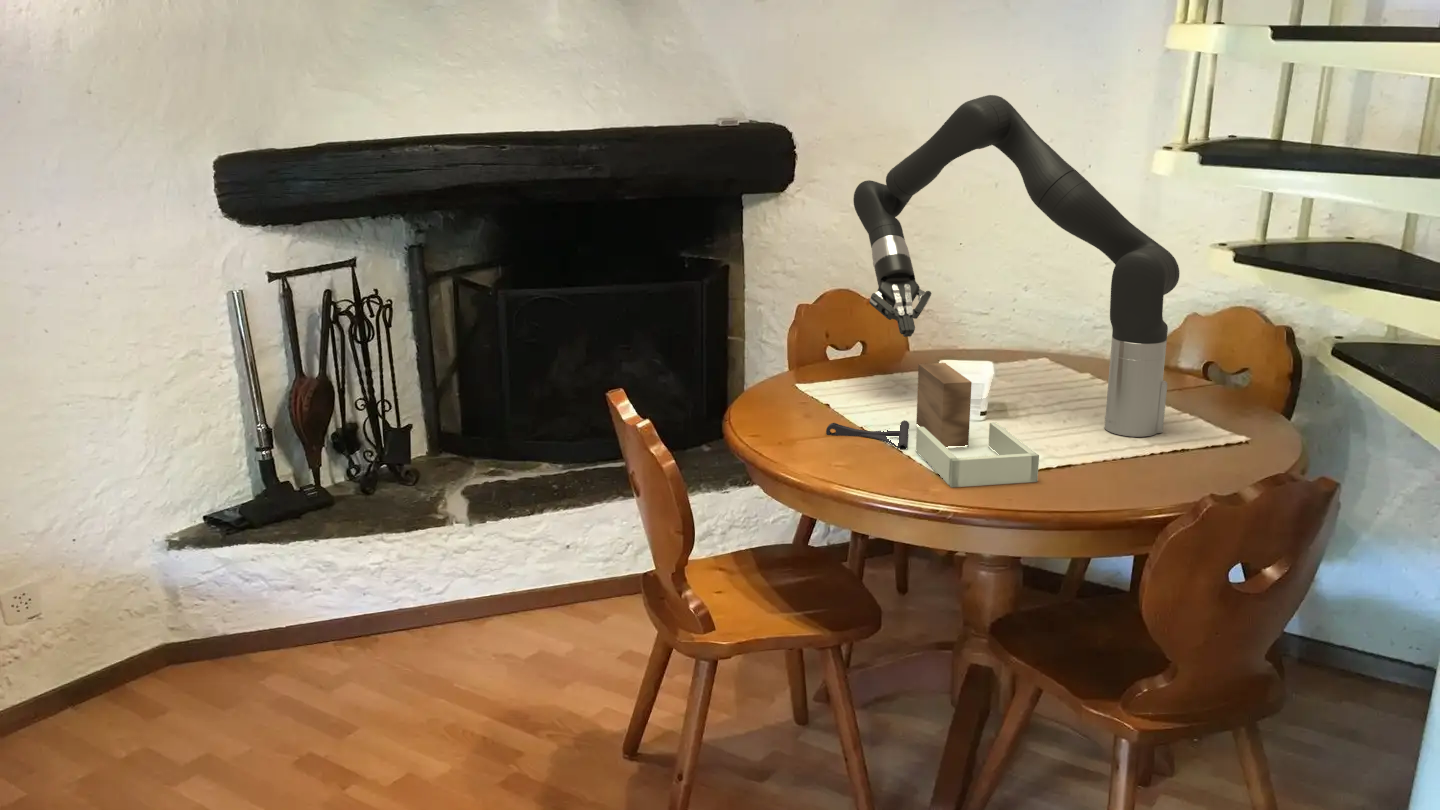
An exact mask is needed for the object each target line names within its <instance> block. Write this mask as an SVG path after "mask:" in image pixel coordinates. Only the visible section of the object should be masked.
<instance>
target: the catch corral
mask: <svg viewBox="0 0 1440 810" xmlns="http://www.w3.org/2000/svg"><path fill="white" fill-rule="evenodd" d="M988 432H989V433H988V445H989V446H990V447H991V448H992V449H993V450H995V451H996V452H997V453H998V454H999V455H997V454H996V455H994V454H993V455H981V456H967V457H957V456H956V455H955V454H954V453H953V452H951V451H950V449H947V448H946V447H945V446H944V445H943V444H942V443H941V442H940V441H938V440H937V439H936V438H935V437H934V436H933V435H932V434H931V433H930V432H929V431H928V430H927V429H926V428H925V427H917V426H916V436H915V438H916V441H915V451H916V450H917V452H918V453H919V454H920V455H921V456H922V457H923V458H924V459H925V460H926V461H927V462H928V463H929V464H930V465H931V466H932V467H933V468H934V469H933V468H932V467H931V466H930V465H929V464H928V463H927V462H926V461H925V460H924V459H923V458H922V457H921V456H920V455H919V454H918V453H917V452H916V453H917V454H918V455H919V456H920V457H921V458H922V459H923V460H924V461H925V462H926V463H927V464H928V465H929V466H930V467H931V468H932V469H933V471H934V472H935V473H936V474H937V473H938V474H939V475H940V476H939V475H938V474H937V475H938V476H939V477H940V478H941V479H942V478H943V479H942V480H943V481H944V482H945V483H946V484H947V485H948V486H949V487H950V488H961V487H962V488H963V487H978V486H979V487H980V486H992V485H993V486H994V485H1009V484H1025V483H1037V482H1038V478H1039V466H1040V464H1039V463H1040V455H1039V454H1038V452H1036V451H1035V450H1033V449H1032V448H1031V447H1029V446H1028V445H1027V444H1025V443H1024V442H1023V441H1021V440H1020V439H1019V438H1017V437H1016V436H1015V435H1013V433H1011V432H1010V431H1008V429H1006V428H1004V426H1001V425H1000V424H999V423H998V422H996V421H995V422H989V429H988Z"/></svg>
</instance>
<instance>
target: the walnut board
mask: <svg viewBox="0 0 1440 810" xmlns="http://www.w3.org/2000/svg"><path fill="white" fill-rule="evenodd" d="M972 383H973V382H972V381H971V380H970V379H968V378H967V377H965V376H964V375H963V374H961V373H960V372H958V371H957V370H955V369H954V368H952V367H951V366H950V365H949V364H947V363H946V362H934V363H918V373H917V394H916V397H917V401H916V424H918V425H919V426H920V427H925V428H926V429H927V430H928V431H929V432H930V433H931V434H932V435H933V436H934V437H935V438H936V439H937V440H938V441H940V442H941V443H942V444H943V445H944V446H945V447H948V446H965V445H968V446H969V441H970V439H969V438H970V421H971V420H970V419H971V403H972V401H971V400H972V399H971V398H972V397H971V396H972Z"/></svg>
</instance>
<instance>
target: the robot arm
mask: <svg viewBox="0 0 1440 810" xmlns="http://www.w3.org/2000/svg"><path fill="white" fill-rule="evenodd" d="M991 146H994V148H997V149H998V150H999V151H1000V152H1001V153H1002V154H1004V156H1006V157H1007V158H1008V159H1009V160H1010V161H1011V162H1012V163H1013V164H1014V165H1015V167H1016V168H1017V170H1018V171H1019V174H1020V176H1021V178H1022V182H1023V184H1024V187H1025V189H1026V192H1027V194H1028V196H1029V198H1030V199H1031V201H1032V203H1033V204H1034V205H1035V206H1036V207H1037V208H1038V209H1039V210H1040V211H1041V212H1043V214H1044V215H1045V216H1046V217H1048V219H1050V220H1051V221H1052V222H1053V223H1054V224H1056V225H1057V226H1058V227H1059V228H1061V229H1063V231H1066V232H1068V234H1070V235H1072V236H1074V237H1076V238H1078V239H1080V240H1081V241H1083V242H1086V243H1087V244H1089V245H1090V246H1093V247H1094V248H1096V249H1097V250H1099V251H1100V252H1101V253H1103V254H1104V255H1105V256H1106V257H1107V258H1108V259H1109V260H1110V261H1111V262H1112V263H1113V264H1114V265H1115V266H1114V267H1113V271H1112V276H1111V284H1110V301H1109V302H1110V304H1109V321H1110V324H1111V325H1110V326H1111V327H1112V333H1111V343H1110V358H1109V359H1110V360H1109V368H1108V370H1109V371H1108V381H1107V382H1108V383H1107V392H1106V394H1107V395H1106V404H1105V406H1106V407H1105V416H1104V429H1105V430H1106V431H1108V432H1109V433H1112V434H1115V435H1120V436H1124V437H1125V436H1126V437H1134V438H1135V437H1137V438H1141V437H1151V436H1154V435H1156V434H1162V433H1163V431H1164V424H1165V423H1164V421H1165V410H1166V401H1167V392H1168V391H1167V390H1168V382H1167V381H1166V380H1165V379H1164V371H1165V370H1164V369H1165V362H1166V353H1167V351H1166V350H1167V341H1168V330H1169V328H1168V324H1167V323H1166V322H1165V321H1164V317H1163V313H1164V310H1163V308H1164V296H1165V295H1167V294H1169V293H1170V292H1171V291H1172V290H1173V289H1175V287H1176V286H1177V285H1178V283H1179V280H1180V267H1179V263H1178V262H1177V260H1176V258H1175V257H1174V255H1173V254H1172V253H1171V252H1170V251H1169V250H1167V249H1166V248H1165V247H1164V246H1162V245H1161V244H1160V243H1158V242H1157V241H1155V239H1152V238H1151V236H1149V235H1147V234H1146V233H1145V232H1143V231H1142V230H1141V229H1139V228H1138V227H1137V226H1136V225H1134V224H1133V223H1131V222H1130V221H1129V220H1128V219H1127V218H1126V217H1125V216H1124V215H1123V214H1122V213H1121V212H1120V211H1119V210H1118V209H1117V207H1115V206H1114V205H1113V204H1112V203H1111V202H1110V201H1109V200H1108V199H1107V198H1106V197H1105V196H1104V195H1103V194H1101V193H1100V192H1099V190H1097V189H1096V188H1095V187H1094V186H1093V184H1091V183H1090V181H1088V180H1087V179H1086V178H1085V177H1084V176H1083V175H1082V174H1081V173H1080V172H1078V170H1077V169H1075V168H1074V167H1073V166H1072V165H1071V164H1069V163H1068V162H1067V161H1065V160H1064V159H1063V157H1061V155H1059V154H1058V153H1057V152H1056V151H1055V149H1053V148H1052V147H1051V146H1050V145H1049V144H1048V143H1047V142H1045V141H1044V140H1043V139H1042V138H1041V137H1040V135H1039V134H1037V132H1036V131H1035V130H1034V129H1033V128H1032V127H1031V126H1030V125H1029V123H1028V122H1027V121H1026V119H1024V117H1023V116H1022V115H1021V114H1020V113H1019V112H1018V110H1017V109H1016V108H1015V107H1014V106H1013V105H1012V104H1011V103H1010V102H1009V101H1008V100H1007V99H1005V98H1003V97H1002V96H1000V95H995V94H988V95H983V96H980V97H977V98H976V97H975V98H973V99H970V100H967V101H966V102H964V103H962V104H961V105H960V106H958V107H957V109H955V110H954V112H953V113H952V114H951V115H950V116H949V117H948V118H947V119H946V121H945V122H944V123H943V124H942V125H941V127H940V128H938V130H936V132H935V133H934V134H933V135H932V136H931V137H930V138H929V139H928V140H927V141H925V142H924V143H923V144H922V145H921V146H919V147H918V148H917V149H916V150H914V151H913V152H912V153H910V154H909V155H908V156H906V157H905V158H904V159H903V160H901V161H899V162H898V163H897V164H896V165H895V166H894V167H892V168H891V169H890V170H889V171H888V172H887V174H886V177H885V184H884V183H881V182H878V181H875V180H869V179H868V180H864V181H862V182H860V183H859V184H858V185H857V186H856V188H855V190H854V193H853V207H854V210H855V212H856V215H857V217H858V219H859V220H860V223H861V224H862V226H863V228H864V230H865V231H866V233H867V234H868V238H869V243H870V247H871V258H872V265H873V267H874V271H875V277H876V281H877V282H876V283H877V285H878V289H877V291H876V292H873V293H871V296H870V298H869V301H868V302H869V304H870V305H871V306H872V307H873V308H874V309H876V310H877V311H878V313H879V314H881V315H883V316H884V318H886V319H887V320H895V321H896V322H897V326H898V330H899V333H900V335H902V337H905V338H906V337H909V338H910V337H912V335H913V334H914V332H915V330H916V326H915V321H914V319H915V320H916V319H918V318H919V316H920V315H921V313H922V312H923V311H924V309H925V307H926V305H927V304H928V303H929V301H930V298H931V296H932V292H931V291H930V290H927V291H924V290H922V289H920V284H918V282H917V281H916V276H915V272H914V267H913V263H912V259H911V255H910V251H909V247H908V246H907V242H906V239H905V235H904V230H903V228H902V223H901V222H900V220H899V219H898V218H896V217H898V216H899V215H900V214H901V213H902V212H903V210H904V209H905V207H906V205H907V204H908V203H909V202H910V200H912V197H913V196H914V195H916V194H918V193H919V192H920V191H921V190H923V189H925V187H927V186H928V185H929V184H931V183H932V182H933V181H934V180H935V179H936V178H937V177H938V176H939V175H940V173H941V172H942V171H943V169H944V168H945V167H946V166H947V165H949V164H950V163H952V162H953V161H954V160H956V159H958V158H959V157H962V156H964V155H967V154H968V153H971V152H972V151H975V150H981V149H984V148H987V147H991ZM916 297H917V301H918V303H917V304H916V306H915V308H913V302H914V301H915V300H916Z"/></svg>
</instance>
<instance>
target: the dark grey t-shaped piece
mask: <svg viewBox="0 0 1440 810" xmlns="http://www.w3.org/2000/svg"><path fill="white" fill-rule="evenodd" d="M900 424H901V425H900ZM900 424H899V425H900V431H888V430H887V432H884V431H883V432H881V430H864V429H858V428H853V427H849V426H846V425H843V424H838V423H836V422H831V423H829V424H828V426H827V427H826V431H825V433H826V436H838V437H840V436H841V437H863V438H870V439H874V440H878V439H879V441H881V440H883V441H882V442H884V441H886V442H889V443H891V444H892V445H894V446H895V447H898V448H900V449H901V447H902V446H903V447H904V448H905V447H906V448H907V449H909V448H908V446H909V434H908V429H909V428H910V423H909V422H908V421H907V420H904V419H903V420H902V421H901V422H900ZM831 430H834V432H832V431H831ZM909 430H910V429H909ZM886 436H899V438H898V440H899V443H898V446H896V445H895V444H894V443H892V442H891V440H890V441H889V439H887V437H886ZM886 442H885V443H886ZM889 443H888V444H889ZM891 444H890V445H891ZM892 445H891V446H892ZM894 446H893V447H894ZM895 447H894V448H895ZM898 448H897V449H898Z"/></svg>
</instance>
